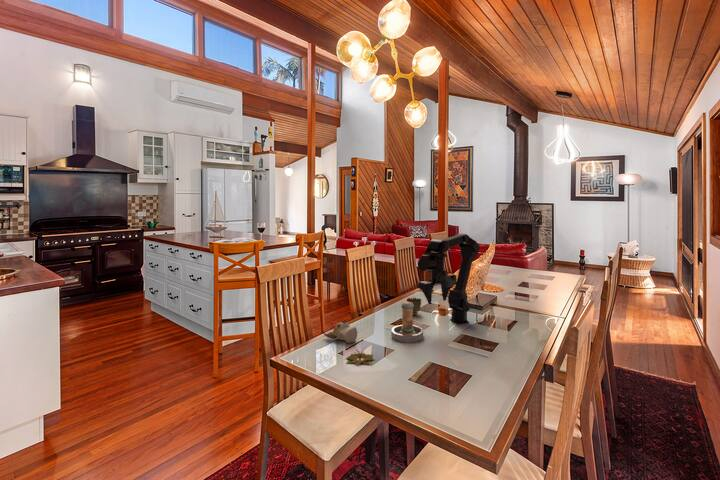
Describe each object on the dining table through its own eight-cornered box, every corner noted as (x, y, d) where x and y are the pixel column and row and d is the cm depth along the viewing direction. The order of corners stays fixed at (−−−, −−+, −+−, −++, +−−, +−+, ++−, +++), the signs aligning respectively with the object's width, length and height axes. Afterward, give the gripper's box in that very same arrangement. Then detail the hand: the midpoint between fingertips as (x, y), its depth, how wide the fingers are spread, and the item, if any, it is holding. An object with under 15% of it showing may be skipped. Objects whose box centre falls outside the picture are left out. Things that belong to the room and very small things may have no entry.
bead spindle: (416, 332, 168) (416, 301, 166) (413, 338, 162) (413, 305, 160) (402, 331, 170) (402, 300, 168) (398, 336, 164) (398, 304, 163)
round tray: (413, 329, 175) (413, 323, 174) (429, 339, 162) (429, 333, 162) (386, 333, 170) (386, 327, 170) (400, 344, 158) (400, 337, 157)
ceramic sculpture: (346, 326, 155) (321, 321, 165) (347, 347, 155) (322, 340, 165) (363, 320, 162) (339, 315, 173) (365, 340, 163) (340, 334, 173)
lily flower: (341, 366, 140) (340, 354, 139) (347, 353, 151) (347, 342, 151) (373, 368, 138) (373, 356, 137) (378, 354, 149) (377, 343, 149)
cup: (420, 317, 192) (420, 301, 191) (406, 316, 193) (406, 301, 192) (421, 312, 199) (421, 297, 198) (407, 311, 201) (407, 297, 200)
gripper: (435, 273, 158) (435, 310, 160) (466, 268, 169) (465, 302, 170) (417, 269, 167) (417, 304, 169) (447, 264, 178) (446, 297, 180)
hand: (437, 302), depth 172 cm, fingers open, 9 cm apart
